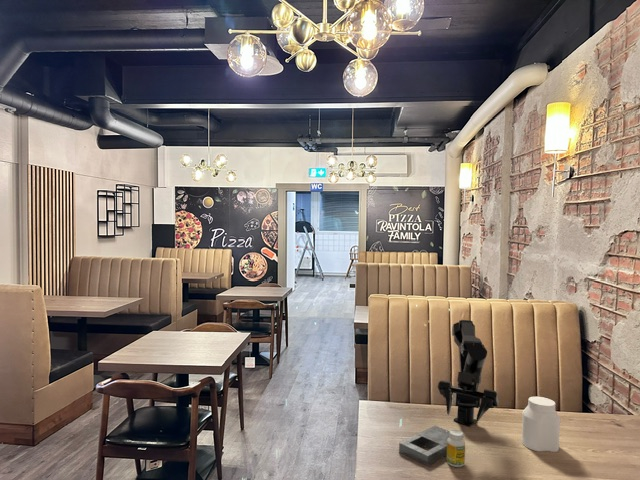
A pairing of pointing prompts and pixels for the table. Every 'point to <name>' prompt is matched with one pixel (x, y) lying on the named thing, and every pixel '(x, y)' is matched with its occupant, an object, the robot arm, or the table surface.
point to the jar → (540, 425)
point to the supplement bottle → (456, 449)
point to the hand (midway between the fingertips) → (462, 417)
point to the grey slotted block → (426, 445)
